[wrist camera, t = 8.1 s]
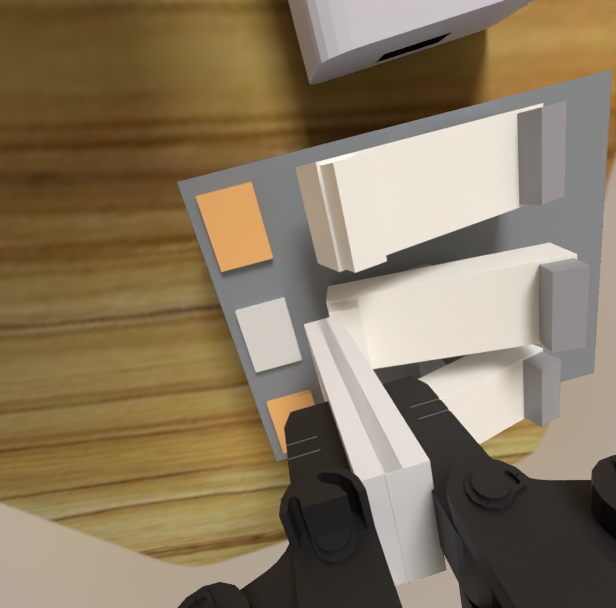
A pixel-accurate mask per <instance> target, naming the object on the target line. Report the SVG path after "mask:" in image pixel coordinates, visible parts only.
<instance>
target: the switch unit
mask: <svg viewBox="0 0 616 608" xmlns="http://www.w3.org/2000/svg"><path fill="white" fill-rule="evenodd" d="M611 79H612V70H608V71H604V72H601V73H597V74H593V75H589V76H585V77H581V78H577V79H573V80H570V81H566V82H562V83H558V84H554V85H550V86H546V87H543V88H539V89H535V90H531V91H527V92H523V93H519V94H515V95H512V96H508V97H504V98H500V99H496V100H492V101H488V102H485V103H481V104H477V105H473V106H469V107H465V108H461V109H457V110H454V111H450V112H446V113H442V114H438V115H434V116H430V117H427V118H423V119H419V120H415V121H411V122H407V123H403V124H399V125H396V126H392V127H388V128H384V129H380V130H376V131H372V132H368V133H365V134H361V135H357V136H353V137H349V138H345V139H341V140H338V141H334V142H330V143H326V144H322V145H318V146H314V147H310V148H307V149H303V150H299V151H295V152H291V153H287V154H283V155H280V156H276V157H272V158H268V159H264V160H260V161H256V162H252V163H249V164H245V165H241V166H237V167H233V168H229V169H225V170H222V171H218V172H214V173H210V174H206V175H202V176H198V177H194V178H191V179H187V180H183V181H179V182H177V184H178V186H179V189H180V192H181V195H182V198H183V200H184V203H185V206H186V209H187V212H188V214H189V217H190V220H191V223H192V226H193V228H194V231H195V234H196V237H197V240H198V243H199V245H200V248H201V251H202V254H203V257H204V259H205V262H206V265H207V268H208V271H209V273H210V276H211V279H212V282H213V285H214V287H215V290H216V293H217V296H218V299H219V301H220V304H221V307H222V310H223V313H224V316H225V318H226V321H227V324H228V327H229V330H230V332H231V335H232V338H233V341H234V344H235V346H236V349H237V352H238V355H239V358H240V360H241V363H242V366H243V369H244V372H245V374H246V377H247V380H248V383H249V386H250V389H251V391H252V394H253V397H254V400H255V403H256V405H257V408H258V411H259V414H260V417H261V419H262V422H263V425H264V428H265V431H266V433H267V436H268V439H269V442H270V445H271V447H272V450H273V453H274V456H275V459H276V462H277V461H280V460H284V459H287V458H288V457H287V448H286V447H287V446H286V440H285V432H284V427H285V424H286V422H287V419H288V417H289V414H290V412H292V411H296V410H299V409H303V408H306V407H310V406H313V405H316V404H320V403H323V402H325V401H324V397H323V394H322V391H321V387H320V383H319V380H318V376H317V372H316V369H315V365H314V361H313V357H312V354H311V350H310V346H309V342H308V339H307V335H306V331H305V327H304V324H307V323H310V322H314V321H317V320H321V319H325V318H329V312H328V308H327V304H326V298H327V289H328V286H332V285H337V284H342V283H347V282H352V281H357V280H362V279H367V278H372V277H377V276H382V275H388V274H393V273H398V272H403V271H408V270H413V269H418V268H423V267H428V266H433V265H438V264H443V263H448V262H453V261H459V260H464V259H469V258H474V257H479V256H484V255H489V254H494V253H499V252H504V251H509V250H514V249H519V248H524V247H530V246H535V245H540V244H545V243H552V244H554V245H557V246H559V247H562V248H564V249H566V250H569V251H571V252H573V253H576V254H577V260H579V261H581V262H584V263H586V264H588V265H590V273H589V293H588V313H587V334H586V348H581V349H574V350H567V351H561V352H554V353H552V352H551V351H550V350H548V349H547V348H546V347H545V346H544V345H543V344H542V343H539V344H533V345H536V346H538V347H541V348H543V352H544V353H547V354H549V355H552V356H554V357H557V358H559V359H561V376H560V382H563V381H566V380H570V379H573V378H577V377H580V376H584V375H587V374H591V373H594V362H595V345H596V328H597V312H598V294H599V279H600V262H601V245H602V229H603V212H604V196H605V179H606V162H607V146H608V129H609V113H610V96H611ZM564 101H566V147H565V195H564V197H562V198H559V199H557V200H554V201H551V202H548V203H546V204H543V205H525V206H522V207H520V208H517V209H514V210H511V211H508V212H506V213H503V214H500V215H497V216H495V217H492V218H489V219H486V220H483V221H481V222H478V223H475V224H472V225H469V226H467V227H464V228H461V229H458V230H456V231H453V232H450V233H447V234H444V235H442V236H439V237H436V238H433V239H430V240H428V241H425V242H422V243H419V244H416V245H414V246H411V247H408V248H405V249H403V250H400V251H397V252H394V253H391V254H389V255H386V258H387V261H386V262H384V263H381V264H378V265H375V266H373V267H370V268H367V269H364V270H362V271H359V272H356V273H354V272H352V271H349V270H344V271H341V272H338V271H335V270H333V269H331V268H328V267H326V266H323V265H321V264H318V262H317V258H316V253H315V249H314V245H313V241H312V236H311V232H310V228H309V224H308V220H307V215H306V211H305V207H304V203H303V199H302V194H301V190H300V186H299V182H298V178H297V173H296V169H295V167H299V166H303V165H307V164H311V163H314V162H318V161H322V160H326V159H330V158H334V157H337V156H341V155H345V154H349V153H353V152H357V151H360V150H364V149H368V148H372V147H376V146H380V145H383V144H387V143H391V142H395V141H399V140H403V139H406V138H410V137H414V136H418V135H422V134H426V133H429V132H433V131H437V130H441V129H445V128H449V127H452V126H456V125H460V124H464V123H468V122H472V121H475V120H479V119H483V118H487V117H491V116H494V115H498V114H502V113H506V112H510V111H514V110H518V109H522V108H526V107H530V106H534V105H537V104H541V103H543V107H544V106H548V105H552V104H556V103H560V102H564ZM468 355H469V354H468ZM464 356H467V355H461V356H455V357H448V358H442V359H435V360H429V361H422V362H416V363H409V364H403V365H396V366H390V367H383V368H377V369H373V371H374V372H375V374H376V375H377V377H378V379H379V380H380V382H381V383H382V384H384V383H387V382H391V381H394V380H397V379H401V378H404V377H408V376H413V377H415V378H417V379H419V378H421V377H423V376H425V375H427V374H429V373H431V372H433V371H435V370H438V369H440V368H442V367H444V366H446V365H448V364H450V363H452V362H454V361H456V360H458V359H460V358H462V357H464Z"/></svg>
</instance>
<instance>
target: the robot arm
mask: <svg viewBox="0 0 616 608" xmlns="http://www.w3.org/2000/svg"><path fill="white" fill-rule="evenodd" d="M304 327H305V331H306V335H307V339H308V342H309V346H310V350H311V354H312V357H313V361H314V365H315V369H316V372H317V376H318V380H319V383H320V387H321V391H322V394H323V397H324V401H325V402H323V403H320V404H316V405H313V406H310V407H306V408H303V409H299V410H296V411H292V412H290V414H289V417H288V419H287V422H286V424H285V427H284V432H285V440H286V446H287V447H286V448H287V457H288V465H289V473H290V482H291V484H290V485H289V487H288V489H287V490H286V492H285V494H284V496H283V497H282V499H281V505H280V512H279V516H280V519H281V522H282V524H283V527H284V530H285V532H286V535H287V538H288V540H289V545H288V548H287V549H286V552H285V553H284V554H283V555H282V556H281V558H280V559H279V560H278V562H277V563H275V564H274V565H273V566H272V567H271V568H270V569H269V570H267V571H266V572H265V573H263V574H262V575H261V576H259V577H258V578H256V579H255V580H254V581H252V582H251V583H249V584H248V585H247V586H245V587H244V588H242V589H241V590H239V589H238V588H237V587H236V586H235V585H232V584H227V583H222V582H218V583H215V584H211V585H207V586H203V587H202V588H200V589H199V590H197V591H196V592H194V593H193V594H191V595H190V596H188V597H187V598H186V599H185V600H184V601H183V602H182V603H181V604H180V606H179V607H178V608H402V605H401V602H400V600H399V596H398V594H397V590H396V587H395V586H398V585H400V584H404V583H407V582H408V583H409V582H412V581H415V580H418V579H421V578H424V577H427V576H430V575H433V574H436V573H439V572H442V571H445V570H446V565H445V558H444V555H445V557H446V559H447V561H448V562H449V565H450V566H451V569H452V571H453V572H454V574H455V576H456V578H457V580H458V582H459V588H460V596H461V604H462V608H616V455H613V456H610V457H608V458H605V459H603V460H600V461H599V462H598V463H597V465H596V466H595V467H594V468H593V470H592V478H591V480H551V481H550V480H538V479H532V478H529V477H527V476H526V475H525V474H524V473H522V472H521V471H520V470H519V469H517V468H516V467H514V466H512V465H509V464H507V463H505V462H502V461H500V460H495V459H492V458H491V457H490V456H489V455H488V454H487V453H486V452H485V451H484V450H483V448H482V447H481V446H480V445H479V444H478V443H477V441H476V440H475V439H474V438H473V437H472V435H471V434H470V433H469V432H468V431H467V430H466V428H465V427H464V426H463V425H462V424H461V423H460V421H459V420H458V419H457V418H456V417H455V416H454V414H453V413H452V412H451V411H449V409H448V407H447V406H446V405H445V404H444V403H443V401H442V400H440V399H439V397H438V396H437V394H436V393H435V392H434V391H433V390H432V388H431V387H430V386H429V385H428V384H427V383H425V382H423V381H421V380H419V379H417V378H415V377H413V376H408V377H404V378H401V379H397V380H394V381H391V382H387V383H384V384H382V383H381V382H380V380H379V379H378V377H377V375H376V374H375V372H374V371H373V369H372V368H371V366H370V364H369V363H368V361H367V360H366V358H365V356H364V355H363V353H362V352H361V350H360V348H359V347H358V345H357V344H356V342H355V340H354V339H353V337H352V336H351V334H350V333H349V331H348V329H347V328H346V326H345V325H344V323H343V321H342V320H341V318H340V317H339V315H336V316H332V317H329V318H325V319H321V320H317V321H314V322H310V323H307V324H304Z"/></svg>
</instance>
